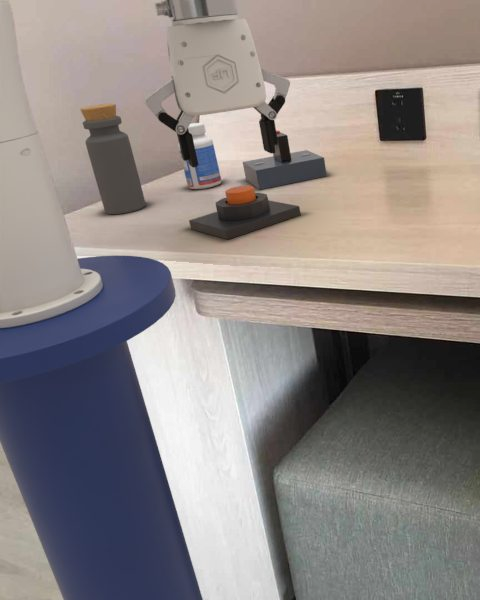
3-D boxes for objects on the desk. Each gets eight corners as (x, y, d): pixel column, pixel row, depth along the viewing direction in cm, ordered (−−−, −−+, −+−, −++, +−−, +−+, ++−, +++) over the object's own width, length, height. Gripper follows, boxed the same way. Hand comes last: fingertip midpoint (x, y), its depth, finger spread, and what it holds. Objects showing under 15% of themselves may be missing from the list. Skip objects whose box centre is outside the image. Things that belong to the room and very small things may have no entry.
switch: (237, 208, 84) (235, 194, 84) (222, 204, 87) (219, 191, 86) (261, 200, 87) (259, 187, 86) (246, 197, 89) (243, 184, 88)
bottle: (96, 215, 100) (66, 110, 94) (121, 203, 105) (94, 104, 99) (130, 214, 98) (101, 107, 92) (154, 202, 103) (128, 101, 97)
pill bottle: (227, 180, 113) (215, 120, 109) (213, 189, 108) (199, 126, 104) (197, 182, 114) (183, 123, 110) (182, 190, 109) (167, 129, 105)
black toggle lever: (291, 160, 107) (287, 133, 105) (281, 162, 106) (277, 135, 104) (283, 156, 111) (278, 130, 109) (273, 158, 110) (269, 131, 109)
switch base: (228, 239, 81) (222, 215, 80) (190, 229, 87) (185, 206, 86) (301, 215, 88) (297, 192, 87) (261, 206, 94) (257, 185, 93)
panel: (259, 189, 104) (255, 169, 103) (245, 179, 112) (242, 160, 111) (327, 176, 108) (324, 156, 107) (309, 167, 116) (306, 148, 114)
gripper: (127, 15, 72) (165, 176, 78) (285, 0, 78) (307, 150, 84) (122, 18, 78) (157, 166, 85) (268, 4, 84) (290, 143, 91)
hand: (232, 158), depth 85 cm, fingers open, 9 cm apart
